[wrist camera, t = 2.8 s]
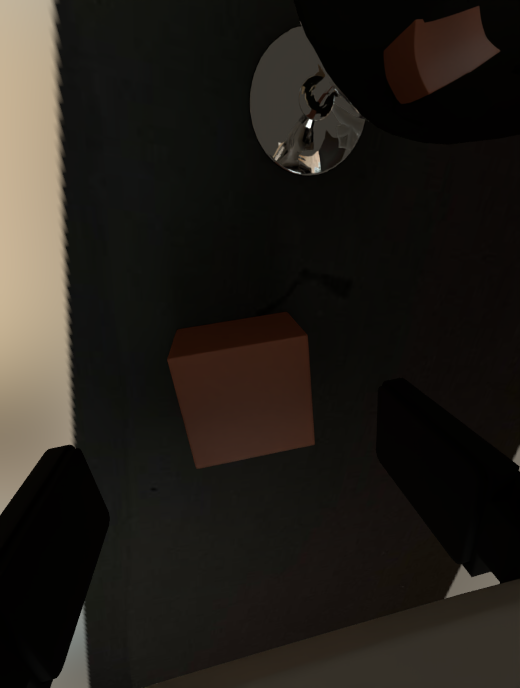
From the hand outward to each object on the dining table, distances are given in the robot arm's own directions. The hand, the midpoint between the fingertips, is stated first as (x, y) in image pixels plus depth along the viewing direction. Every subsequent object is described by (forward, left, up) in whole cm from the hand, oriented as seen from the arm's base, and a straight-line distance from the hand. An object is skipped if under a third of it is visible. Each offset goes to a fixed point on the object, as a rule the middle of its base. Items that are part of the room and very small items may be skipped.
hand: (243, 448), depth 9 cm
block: (0, 0, -5) cm, 5 cm away
